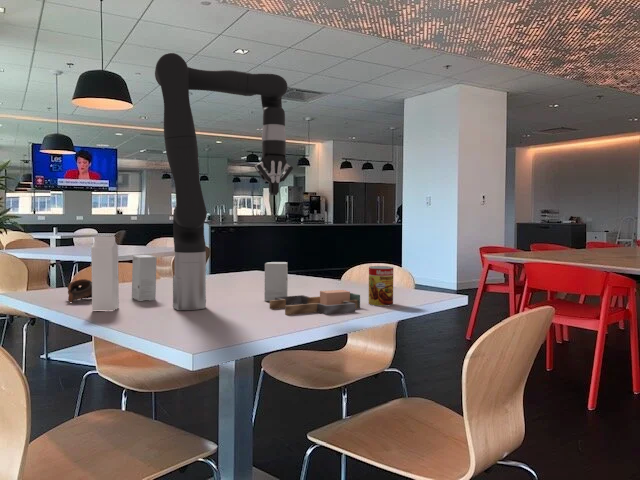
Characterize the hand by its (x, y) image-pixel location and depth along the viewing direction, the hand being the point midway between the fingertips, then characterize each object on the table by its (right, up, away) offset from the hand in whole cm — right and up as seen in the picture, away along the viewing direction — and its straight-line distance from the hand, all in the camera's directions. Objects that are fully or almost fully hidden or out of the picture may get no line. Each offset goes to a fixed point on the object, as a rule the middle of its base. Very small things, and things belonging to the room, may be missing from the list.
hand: (273, 194), depth 166 cm
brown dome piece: (-64, -35, +6) cm, 73 cm away
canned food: (+34, -35, +1) cm, 49 cm away
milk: (-49, -36, -11) cm, 62 cm away
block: (+19, -35, -4) cm, 41 cm away
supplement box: (0, -35, +9) cm, 36 cm away
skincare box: (-45, -35, +10) cm, 57 cm away
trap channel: (+13, -35, -7) cm, 38 cm away
